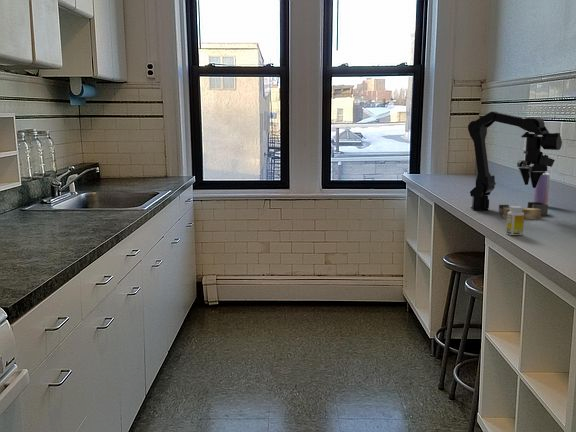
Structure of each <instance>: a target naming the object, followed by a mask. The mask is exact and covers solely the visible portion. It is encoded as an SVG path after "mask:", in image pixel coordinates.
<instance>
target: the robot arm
mask: <svg viewBox="0 0 576 432" xmlns="http://www.w3.org/2000/svg"><path fill="white" fill-rule="evenodd" d="M494 123H500V124H506V125H509V126H515V127H517V128H520V129H522V130H524V131H525V132H524V133H523V134H522V135H521V136H520V137H521V138H524V139H526V141H525V150H523V154H524V160H523V159H519V160H518V161H517V162H516V163H517V164H516V167H518V170H519V173H520V175H521V178H522V181H523V184H524V185H525V186H528V185H529V182H530V183H531V187H532V189H535V188H536V186H537V183H538V181H539V178H540V176H541V175H542V174H544V173H546V172H548V167H550V168H552V167H553V166H554V163H555V159H553V158H551V157H549V155H547V154H545V153H543V151H541V149H543V150H550V151H559V150H561V148H562V145H563V141H562V136H561V132H554V133H553V132H552V133H551V132H549V130H548V128H547V127H546V126H545V121H544V119H543V118H540V117H521V116H517V115H511V114H507V113H502V112H498V111H489V112H487V113H486V114H485V115H483V116H481V117H479V118H478V119H476V120H472V121H470V122H469V124H467V130H468V134H469V136H470V138H471V140H472V142H473V148H474V153H475V163H476V170H477V175H476V179H475V186H474V187H473V188H472V189H471V190H470V192H469V194H470V197H471V198H472V199H471V206H470V209H471V210H473V211H489V208H490V199H489V196H490V195H491V193H492V192H493V191H494V189H495V188H496V187H495V186H496V180H495V178H496V177H495V174H494V175H491V172H490V171H489V163H488V153H487V147H486V138H487V135H488V128H490V127H491V126H492V125H493V124H494Z"/></svg>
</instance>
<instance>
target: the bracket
mask: <svg viewBox="0 0 576 432" xmlns="http://www.w3.org/2000/svg"><path fill="white" fill-rule="evenodd" d="M526 205H527V207H526V208H538V209H541V217H542V216H545V217H547V216H548V208H549V204H548V205H547V204H545V203H543V202H534V201H527V204H526Z"/></svg>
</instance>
